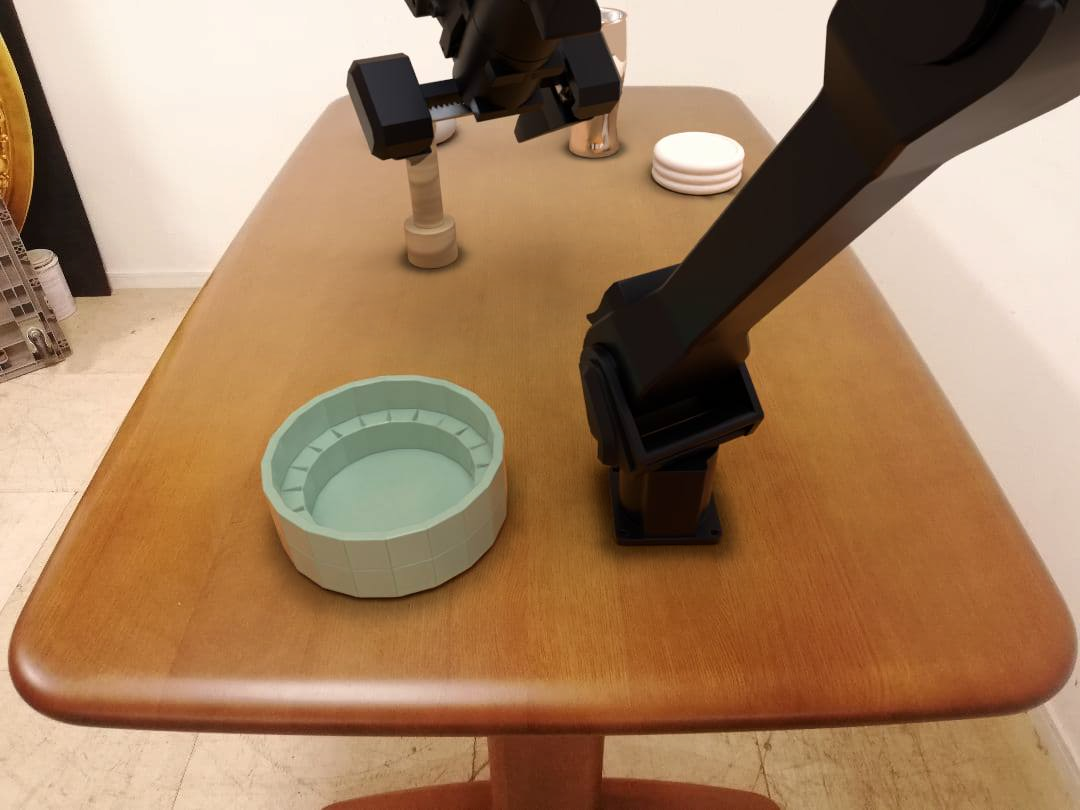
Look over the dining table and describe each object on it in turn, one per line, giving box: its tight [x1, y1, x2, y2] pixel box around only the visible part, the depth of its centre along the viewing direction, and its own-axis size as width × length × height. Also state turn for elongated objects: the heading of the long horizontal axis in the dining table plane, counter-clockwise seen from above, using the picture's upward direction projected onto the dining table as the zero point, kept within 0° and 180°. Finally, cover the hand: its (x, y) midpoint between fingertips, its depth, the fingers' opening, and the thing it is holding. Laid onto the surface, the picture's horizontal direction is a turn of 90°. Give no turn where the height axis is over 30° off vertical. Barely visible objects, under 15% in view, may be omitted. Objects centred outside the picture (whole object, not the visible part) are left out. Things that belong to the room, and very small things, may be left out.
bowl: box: [260, 374, 508, 598], centre depth 48 cm, size 14×14×6 cm
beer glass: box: [568, 6, 629, 159], centre depth 90 cm, size 7×7×15 cm
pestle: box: [403, 122, 459, 269], centre depth 71 cm, size 5×5×14 cm
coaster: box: [651, 131, 746, 196], centre depth 87 cm, size 10×10×4 cm
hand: (465, 148), depth 62 cm, fingers open, 9 cm apart
